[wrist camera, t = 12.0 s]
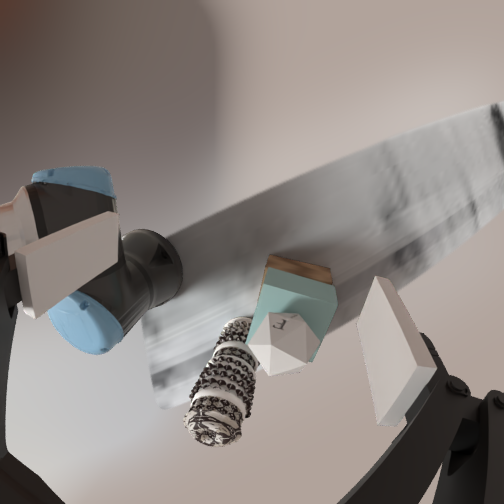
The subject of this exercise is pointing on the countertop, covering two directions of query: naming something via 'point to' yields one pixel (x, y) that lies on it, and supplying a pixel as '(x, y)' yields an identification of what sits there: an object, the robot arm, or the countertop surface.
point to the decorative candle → (224, 388)
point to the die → (283, 343)
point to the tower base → (298, 269)
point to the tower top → (296, 301)
